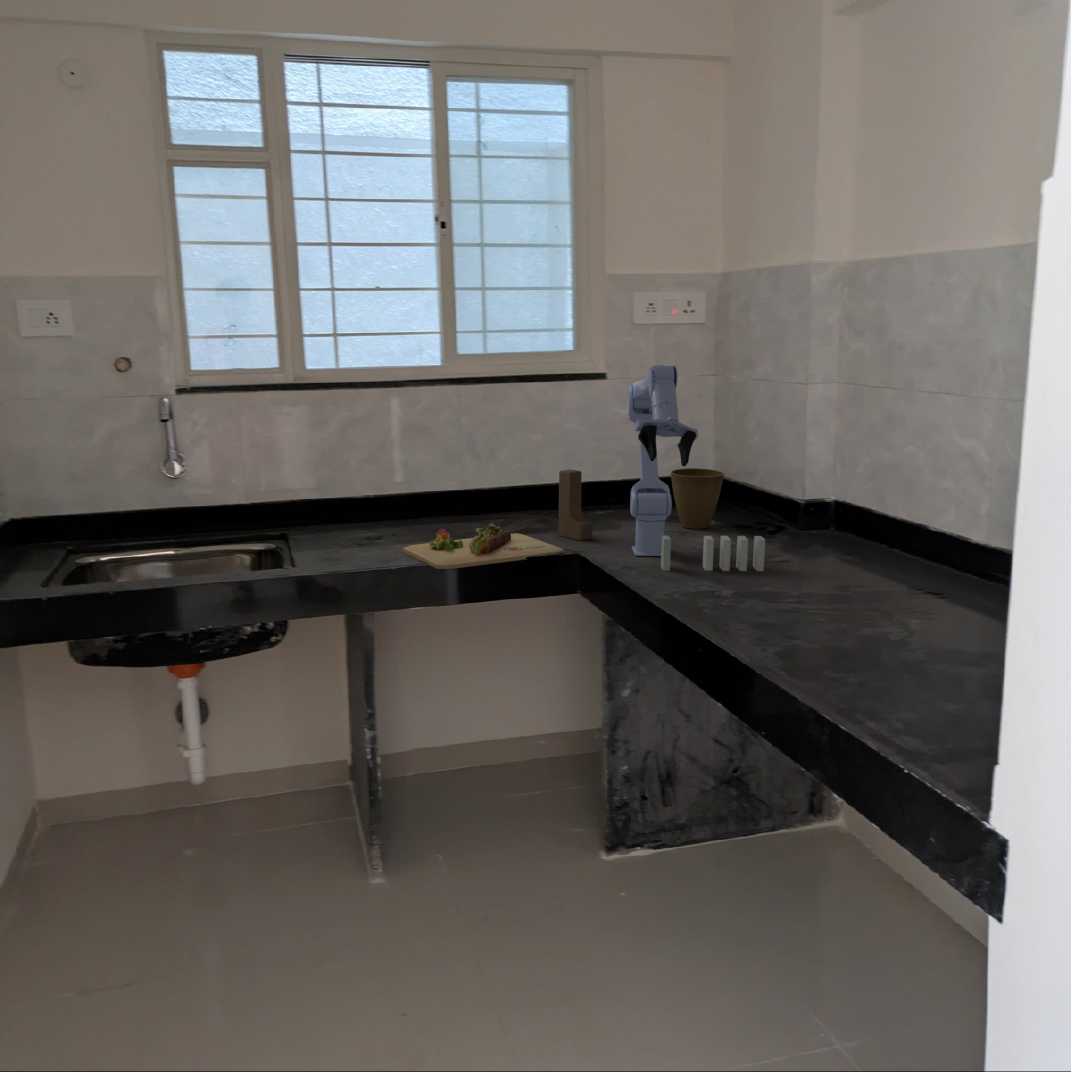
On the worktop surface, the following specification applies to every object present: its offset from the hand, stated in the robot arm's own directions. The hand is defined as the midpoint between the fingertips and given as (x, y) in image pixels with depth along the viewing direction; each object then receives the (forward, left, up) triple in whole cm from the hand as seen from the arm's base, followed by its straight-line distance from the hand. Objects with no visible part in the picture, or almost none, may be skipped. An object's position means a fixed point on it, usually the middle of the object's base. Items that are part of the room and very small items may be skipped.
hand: (669, 461), depth 217 cm
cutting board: (-27, -43, -28) cm, 58 cm away
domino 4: (-11, +19, -27) cm, 35 cm away
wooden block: (-46, -19, -27) cm, 57 cm away
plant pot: (-61, +16, -27) cm, 69 cm away
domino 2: (-11, +11, -27) cm, 31 cm away
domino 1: (-11, +1, -27) cm, 29 cm away
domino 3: (-11, +15, -27) cm, 33 cm away
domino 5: (-11, +23, -27) cm, 37 cm away
